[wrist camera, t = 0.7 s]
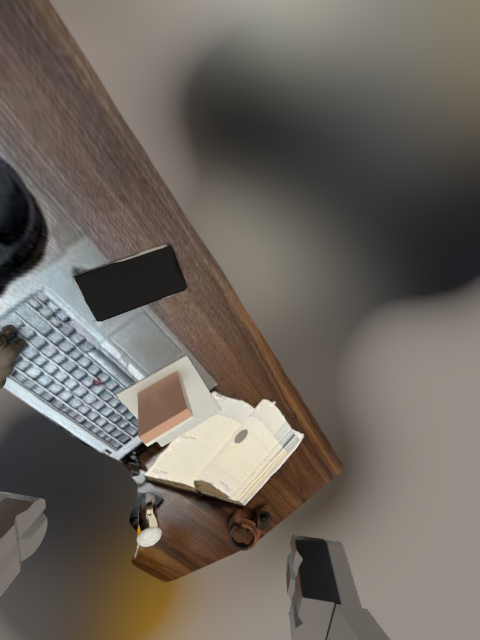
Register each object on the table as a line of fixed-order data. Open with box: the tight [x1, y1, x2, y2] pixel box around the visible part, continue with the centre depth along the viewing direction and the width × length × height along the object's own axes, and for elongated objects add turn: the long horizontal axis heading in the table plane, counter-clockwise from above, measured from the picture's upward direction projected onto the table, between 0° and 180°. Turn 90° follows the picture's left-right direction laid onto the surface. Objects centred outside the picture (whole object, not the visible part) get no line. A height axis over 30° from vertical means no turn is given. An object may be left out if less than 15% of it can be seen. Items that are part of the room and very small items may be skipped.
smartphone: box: [73, 244, 187, 321], centre depth 43 cm, size 8×1×15 cm
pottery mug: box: [228, 509, 272, 550], centre depth 72 cm, size 12×10×8 cm
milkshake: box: [134, 493, 161, 558], centre depth 55 cm, size 5×5×10 cm
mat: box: [116, 355, 221, 447], centre depth 53 cm, size 16×14×1 cm
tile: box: [137, 371, 194, 447], centre depth 46 cm, size 2×8×11 cm, turn 113°
